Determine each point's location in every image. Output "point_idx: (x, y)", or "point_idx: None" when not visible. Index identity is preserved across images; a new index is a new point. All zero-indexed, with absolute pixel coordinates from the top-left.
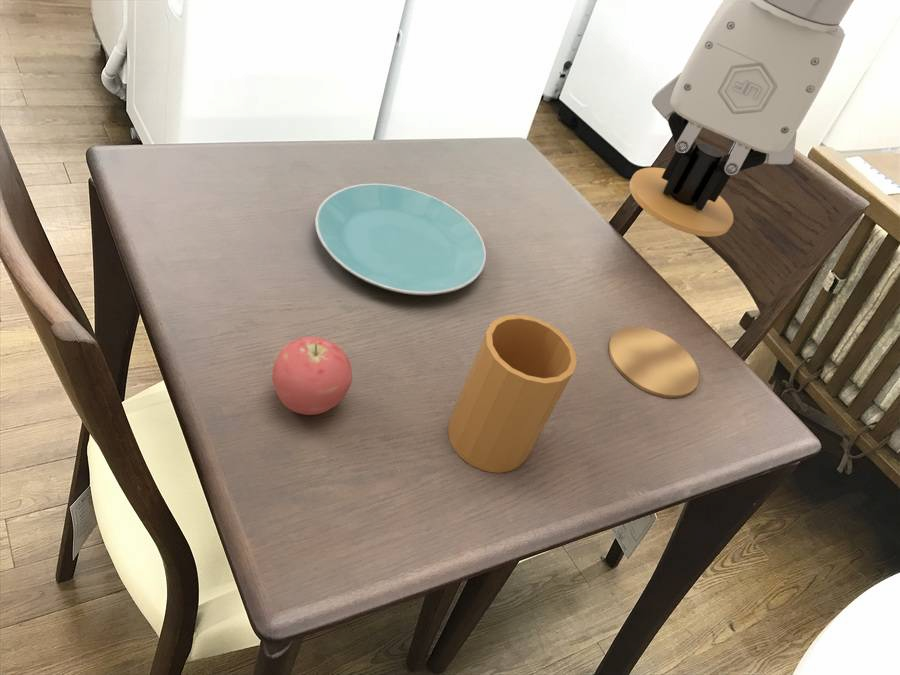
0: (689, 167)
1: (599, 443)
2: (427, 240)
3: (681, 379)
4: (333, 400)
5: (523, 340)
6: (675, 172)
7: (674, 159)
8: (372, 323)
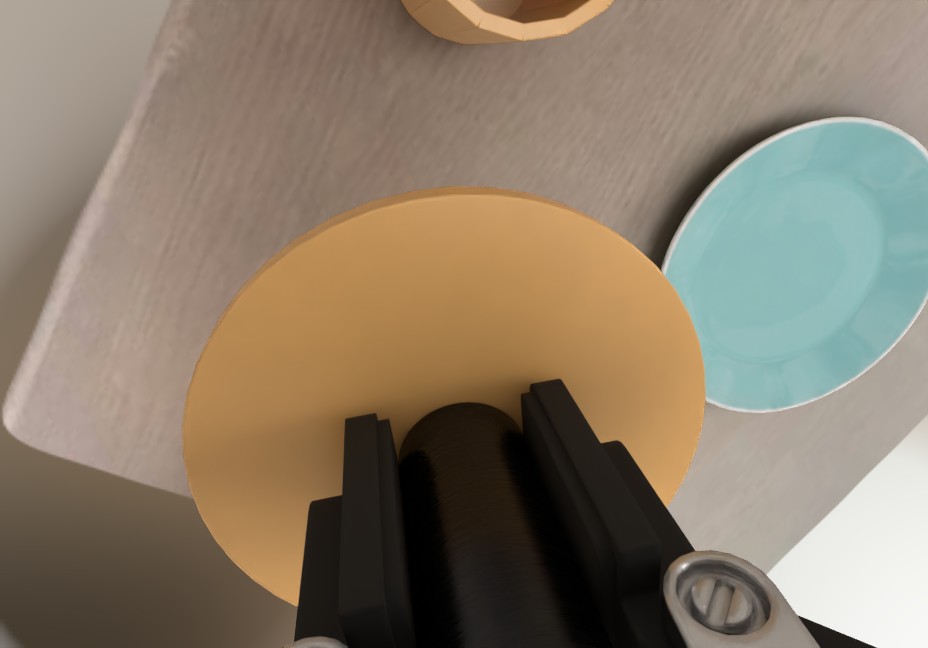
0: (553, 539)
1: (295, 115)
2: (753, 320)
3: None
4: None
5: (549, 15)
6: (599, 456)
7: (659, 525)
8: (755, 65)
